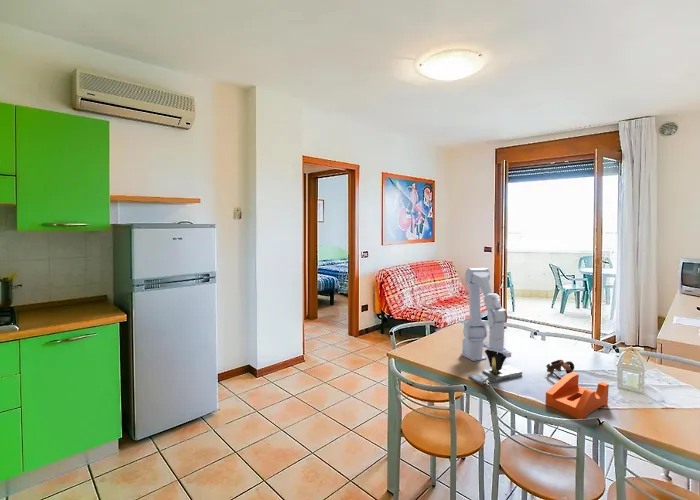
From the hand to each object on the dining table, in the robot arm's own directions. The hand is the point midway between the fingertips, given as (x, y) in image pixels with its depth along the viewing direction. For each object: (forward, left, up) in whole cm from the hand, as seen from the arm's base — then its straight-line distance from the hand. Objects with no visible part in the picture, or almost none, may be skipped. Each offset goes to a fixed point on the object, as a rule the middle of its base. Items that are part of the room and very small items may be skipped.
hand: (495, 368), depth 160 cm
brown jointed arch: (+11, +26, -4) cm, 29 cm away
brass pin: (0, 0, -2) cm, 2 cm away
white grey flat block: (0, 0, -4) cm, 4 cm away
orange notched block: (+30, +10, -4) cm, 32 cm away
